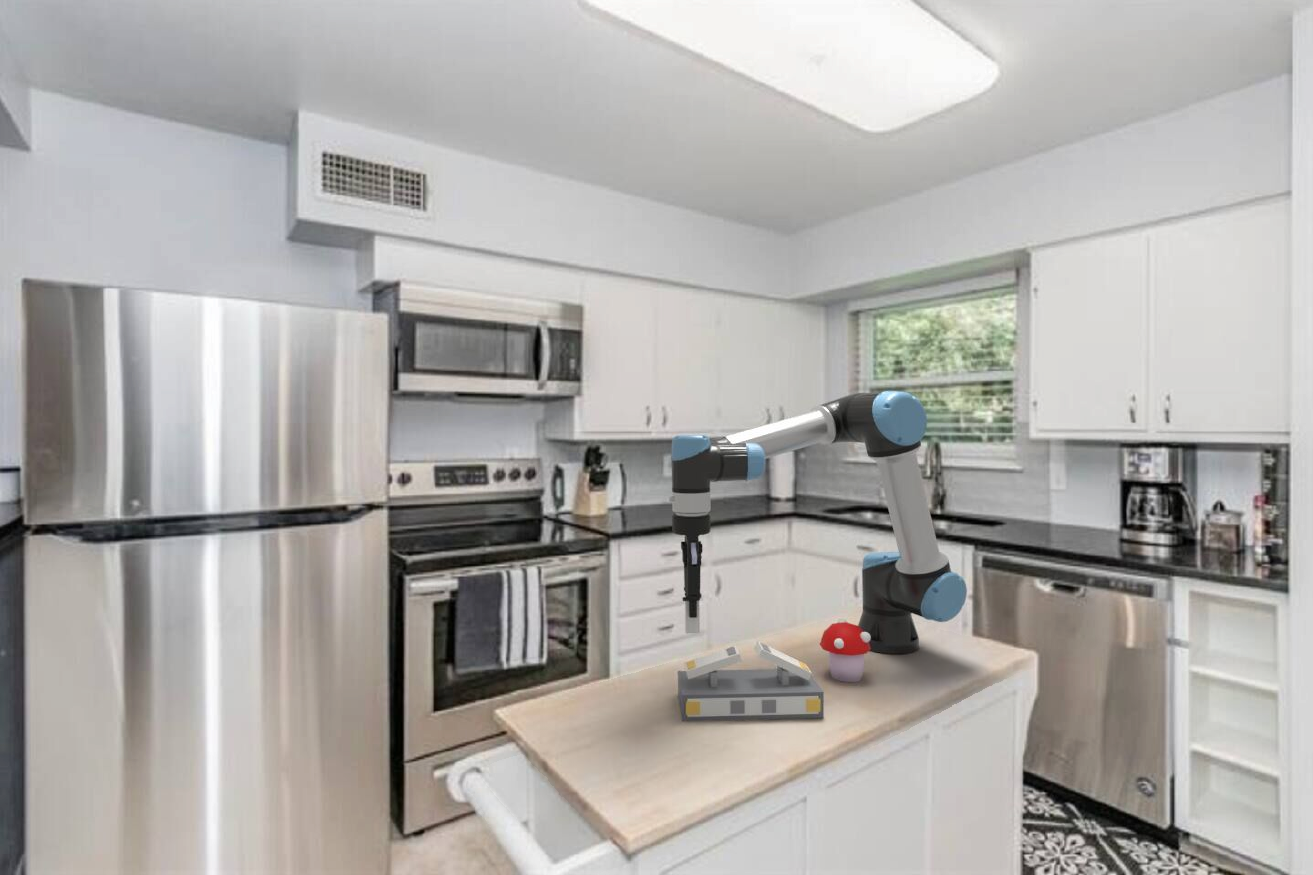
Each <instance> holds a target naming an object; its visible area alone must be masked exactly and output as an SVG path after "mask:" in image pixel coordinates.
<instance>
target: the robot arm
mask: <svg viewBox="0 0 1313 875" xmlns="http://www.w3.org/2000/svg"><path fill="white" fill-rule="evenodd" d="M925 409H926V408H925V407H924V406H923V404H922V403H921V401H920V400H919V399H918V398H917V397H916V396H914V395H912V394H910V393H909V392H906V391H896V390H887V391H886V390H884V391H874V392H872V391H871V392H857V393H852V394H849V395H845V396H844V397H843V396H842V397H840V398H836V399H834V400H831V401H828V402H825V403H822V404H819V405H816V406H815V405H814V407H812V408H811V409H810V412H806V413H803V414H802V413H801V414H798V415H795V416H792V417H788V418H785V419H781V420H777V421H774V422H770V423H767V424H764V425H758V426H755V427H751V428H748V429H745V430H741V431H738V432H733V433H731V434H727V435H724V436H721V437H717V438H713V439H710V437H709V435H708V434H679V435H675V436H674V437H673V438H672V440H671V455H670V461H671V491H672V493H671V494H672V496H669V497H668V501H669V502H672V503H671V504H672V505H671V507H672V509H671V510H672V512H673V514H672V515H671V522H672V523H671V524H672V527H671V529H672V533H674V534H675V535H677V536H684V541H681V542H680V549H681V551H682V553H681V554H682V555H681V556H682V559H681V560H682V561H681V562H682V564H683V580H684V582H683V583H684V584H683V586H684V587H683V591H684V596H682V602H684V610H685V611H684V612H685V614H684V616H685V617H684V619H685V624H684V628H685V633H686V634H700V632H701V629H700V624H701V622H700V601H701V598H702V593H701V566H702V556H703V555H702V553H703V543H702V541H701V540H699V536H701V535H702V536H704V535H708V534H710V533H711V515H710V514H709V512H710V511H712V510H711V509H712V508H711V506H712V505H711V483H715V482H717V483H718V482H731V481H737V482H738V481H745V482H748V481H750V480H758V479H759V478H761V477H762V476H763V474H764V473H765V470H766V467H767V466H766V464H767V463H766V462H767V459H770V458H772V457H776V456H779V455H780V456H781V455H782V454H786V453H789V452H793V451H797V450H799V449H802V448H803V449H804V448H807V447H810V446H813V445H816V444H821V445H824V446H828V445H832V444H835V443H850V442H852V443H862V444H864V446H865V449H866V453H867V457H868V458H870V459H871V460H873V461H875V463H876V465H877V469H878V473H879V476H880V480H881V484H882V489H883V492H884V497H885V502H886V506H887V509H888V512H889V518H890V521H891V525H892V529H893V533H894V538H895V541H896V547H897V550H898V551H883V552H881V551H879V552H871V553H867V554H866V555H865V556H864V557H862V558H863V559H862V568H861V570H862V571H861V572H862V573H861V574H862V575H861V578H862V579H861V581H862V583H861V585H862V586H861V588H862V612H861V615H860V618H859V621H858V624H857V626H859V628H860V629H861V630H862V631H863V632H868V633H869V634H870V636H871V639H870V641H869V644H870V648H871V650H870V651H872V652H875V653H876V652H877V653H881V654H882V653H883V654H890V655H891V654H892V655H893V654H895V655H897V654H898V655H902V654H910V653H914V652H916V651H918V650H919V648H920V638H919V637H920V636H919V634H918V631H917V629H916V625H915V622H914V619H913V617H912V616H913V615H916V616H919V617H922V618H924V619H925V620H927V621H928V620H929V621H934V622H937V623H945V622H948V621H951V620H952V619H953V620H954V618H955V617H957V616H958V614H959V613H960V612H961V611H962V608H963V606H964V605H965V603H966V600H967V595H968V593H967V592H968V591H967V590H968V589H967V585H966V581H965V580H964V578H963V577H962V576H961V575H959V574H958V573H957V572H953V571H952V570H951V565H950V561H949V560H950V559H949V558H948V556H947V555H946V554H945V553H943V552H941V551H940V549H939V545H938V541H937V537H936V532H935V528H934V524H933V520H932V516H931V512H930V508H929V502H928V499H927V495H926V490H925V486H924V482H923V478H922V473H921V470H920V465H919V461H918V458H917V452H918V451H919V450H920V449H921V447H922V441H921V440H922V438H923V437H924V436H925V433H926V429H927V427H928V419H927V418H928V417H927V413H926V410H925ZM912 614H913V615H912Z"/></svg>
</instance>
